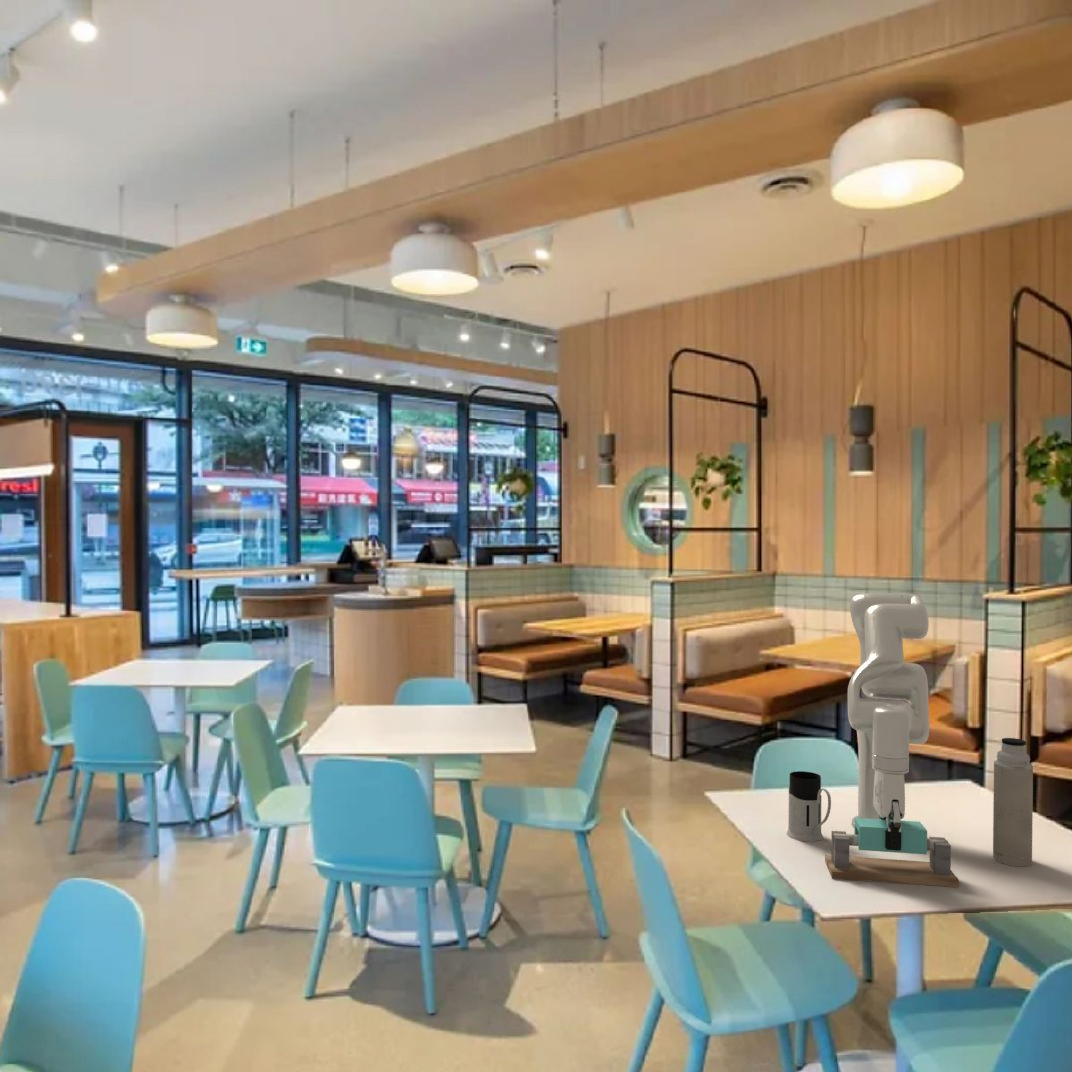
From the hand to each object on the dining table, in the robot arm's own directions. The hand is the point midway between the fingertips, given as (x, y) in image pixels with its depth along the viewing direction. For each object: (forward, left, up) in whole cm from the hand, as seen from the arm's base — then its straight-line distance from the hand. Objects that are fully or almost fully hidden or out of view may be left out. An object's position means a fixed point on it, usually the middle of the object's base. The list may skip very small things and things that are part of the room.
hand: (889, 843), depth 196 cm
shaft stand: (0, 0, -7) cm, 7 cm away
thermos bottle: (-14, +30, -7) cm, 34 cm away
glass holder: (-20, -14, -7) cm, 25 cm away
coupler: (0, 0, -1) cm, 1 cm away
